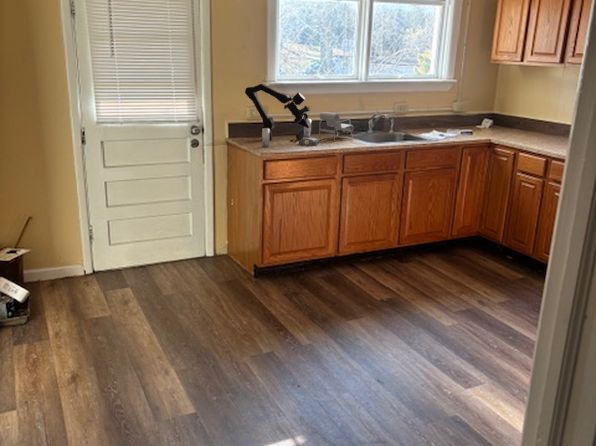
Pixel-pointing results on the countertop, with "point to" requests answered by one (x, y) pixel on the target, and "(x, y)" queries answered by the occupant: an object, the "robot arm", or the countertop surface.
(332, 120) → the chair
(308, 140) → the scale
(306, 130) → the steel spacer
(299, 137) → the handgun
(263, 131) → the spacer
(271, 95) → the robot arm
